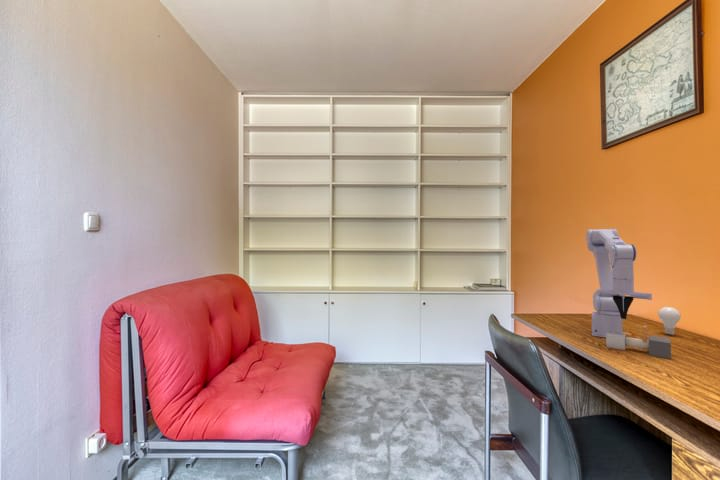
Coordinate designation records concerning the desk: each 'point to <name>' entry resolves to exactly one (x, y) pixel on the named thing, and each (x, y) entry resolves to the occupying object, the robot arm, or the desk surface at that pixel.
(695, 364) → the desk surface
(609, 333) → the light grey cube
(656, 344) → the socket
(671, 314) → the lightbulb
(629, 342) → the slip tube
